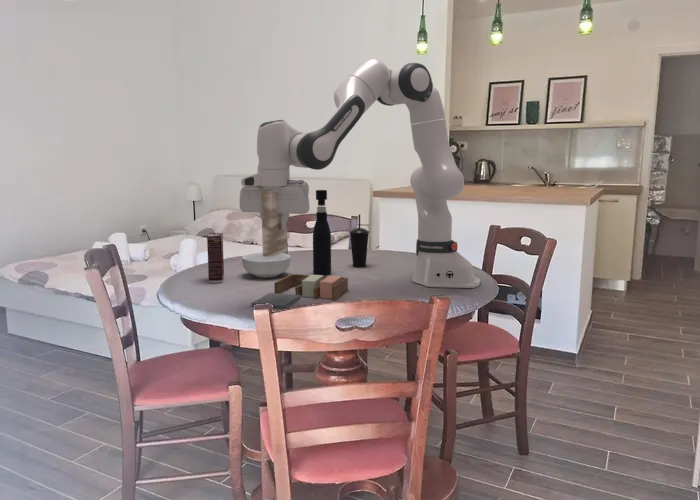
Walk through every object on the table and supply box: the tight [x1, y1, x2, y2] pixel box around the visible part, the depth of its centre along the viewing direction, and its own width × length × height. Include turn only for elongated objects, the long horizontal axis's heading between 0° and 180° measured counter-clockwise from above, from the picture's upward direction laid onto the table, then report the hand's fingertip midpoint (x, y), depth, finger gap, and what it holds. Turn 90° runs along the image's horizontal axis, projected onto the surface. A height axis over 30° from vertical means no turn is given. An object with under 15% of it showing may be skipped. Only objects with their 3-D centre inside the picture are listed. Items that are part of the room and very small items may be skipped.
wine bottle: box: [312, 189, 332, 276], centre depth 192 cm, size 6×6×30 cm
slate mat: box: [251, 292, 302, 310], centre depth 156 cm, size 10×12×1 cm
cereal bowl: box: [241, 251, 292, 279], centre depth 191 cm, size 17×17×7 cm
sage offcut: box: [301, 274, 323, 298], centre depth 166 cm, size 4×9×5 cm, turn 166°
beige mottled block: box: [261, 191, 288, 257], centre depth 152 cm, size 3×10×18 cm, turn 163°
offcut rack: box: [273, 273, 349, 301], centre depth 167 cm, size 19×13×4 cm
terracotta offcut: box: [319, 275, 343, 300], centre depth 165 cm, size 4×9×5 cm, turn 163°
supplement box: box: [206, 232, 225, 284], centre depth 183 cm, size 9×5×16 cm, turn 9°
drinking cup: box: [348, 214, 370, 268], centre depth 206 cm, size 8×8×20 cm
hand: (274, 228), depth 153 cm, fingers closed on beige mottled block, 3 cm apart
